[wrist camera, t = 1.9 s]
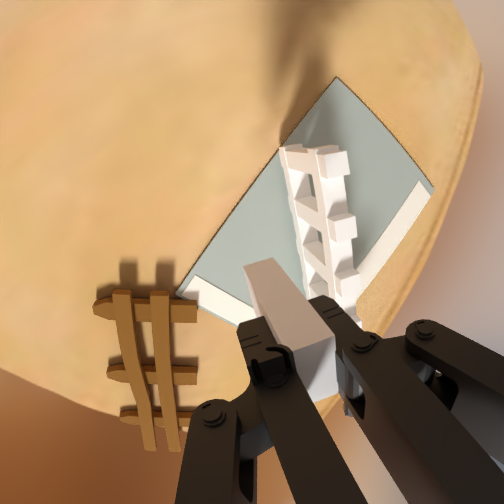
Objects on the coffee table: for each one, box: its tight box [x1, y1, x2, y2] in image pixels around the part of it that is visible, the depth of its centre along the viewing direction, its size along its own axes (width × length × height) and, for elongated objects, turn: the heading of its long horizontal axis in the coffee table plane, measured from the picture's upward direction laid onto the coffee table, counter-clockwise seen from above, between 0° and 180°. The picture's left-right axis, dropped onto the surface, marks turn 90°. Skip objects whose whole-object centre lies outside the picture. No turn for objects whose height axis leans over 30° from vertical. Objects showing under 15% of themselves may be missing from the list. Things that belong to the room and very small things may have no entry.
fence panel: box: [279, 144, 362, 329], centre depth 23 cm, size 18×2×9 cm, turn 13°
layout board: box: [175, 78, 434, 328], centre depth 28 cm, size 25×17×1 cm
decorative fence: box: [93, 289, 197, 452], centre depth 29 cm, size 25×2×10 cm
